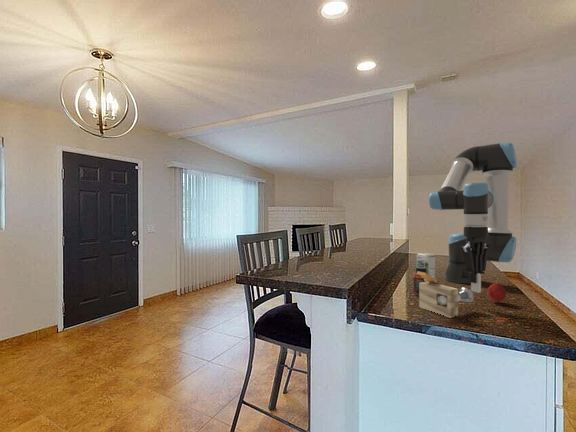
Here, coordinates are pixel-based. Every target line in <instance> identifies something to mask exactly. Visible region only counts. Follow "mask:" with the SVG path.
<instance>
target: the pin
mask: <svg viewBox="0 0 576 432" xmlns="http://www.w3.org/2000/svg"><path fill="white" fill-rule="evenodd" d="M474 298H475V295H474V292H473V291H471V288H469V287H461V288H460V289H459V288H458V302H464V303H471V302H472V301H474ZM438 302H439V303H440V304H441V305H445V304H447V296H446V295H441V296H439V297H438Z"/></svg>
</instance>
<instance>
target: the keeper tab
mask: <svg viewBox="0 0 576 432" xmlns="http://www.w3.org/2000/svg"><path fill="white" fill-rule="evenodd" d="M417 274H418V275H420V276H421V277H423V278H424V279H426V280H428V281H429V282H432V283H436V284H440V280H437V279H436V278H435V279H434V278H433V277H431V276H430V275H428V274H427V273H424V272H419V271H417Z"/></svg>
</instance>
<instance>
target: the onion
mask: <svg viewBox="0 0 576 432" xmlns="http://www.w3.org/2000/svg"><path fill="white" fill-rule="evenodd" d="M486 291H487V292H486V294H487V295H486V296H488V298H489V299H490V300H491V301H493V303H496V304H499V303H500V302H502V301H503V300H505V299H506V296H507V292H506V291H507V290H506V289H505V288H504V286H502V285H501V284H500V283H499V282H498V281H494V282H493V283H492V284H491V285H489V287H488V288H487V290H486Z"/></svg>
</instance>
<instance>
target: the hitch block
mask: <svg viewBox="0 0 576 432" xmlns="http://www.w3.org/2000/svg"><path fill="white" fill-rule="evenodd" d="M458 291H459V288H455V287H451V286H448V285H443V284H440V283H439V284H436V283H432V282H427V281H426V282H421V283H419V296H418V298H419V299H418V300H419V302H418V303H419V305H418V306H419V307H420V309H422V310H425V309H426V311H428V310H429V312H431V311H432V313H434V312H435V313H434V314H437V313H438V314H437V315H440V314H441V316H443V315H444V316H443V317H446V318H449V319H451V318H455V316H456V317H458V316H459V301H458ZM441 295H446V296H447V304H445V305H441V304H440V303H439V302H438V297H439V296H441Z"/></svg>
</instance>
